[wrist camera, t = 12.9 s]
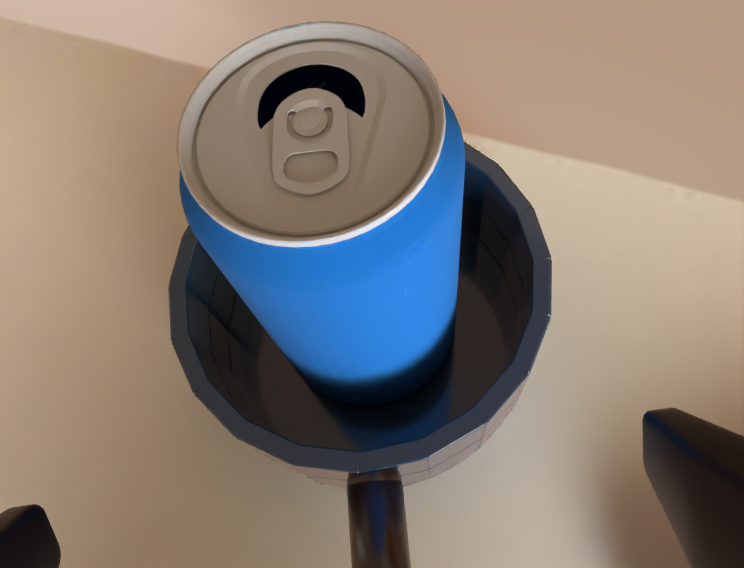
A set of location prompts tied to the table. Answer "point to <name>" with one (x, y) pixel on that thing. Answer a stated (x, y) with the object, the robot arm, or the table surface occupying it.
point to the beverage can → (332, 202)
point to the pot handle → (377, 520)
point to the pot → (397, 417)
